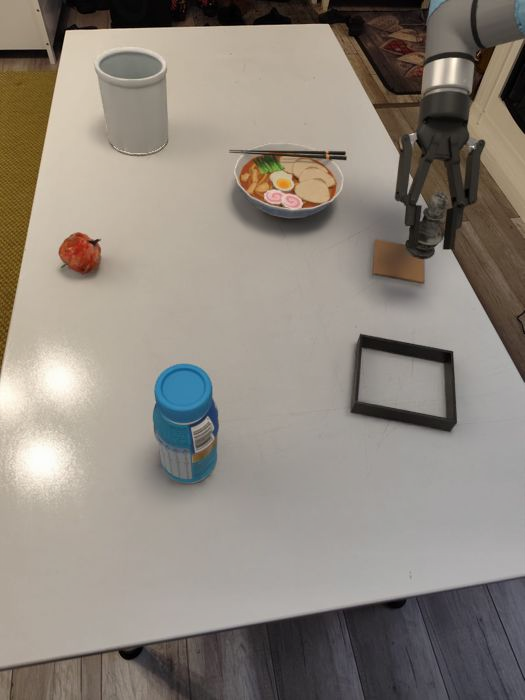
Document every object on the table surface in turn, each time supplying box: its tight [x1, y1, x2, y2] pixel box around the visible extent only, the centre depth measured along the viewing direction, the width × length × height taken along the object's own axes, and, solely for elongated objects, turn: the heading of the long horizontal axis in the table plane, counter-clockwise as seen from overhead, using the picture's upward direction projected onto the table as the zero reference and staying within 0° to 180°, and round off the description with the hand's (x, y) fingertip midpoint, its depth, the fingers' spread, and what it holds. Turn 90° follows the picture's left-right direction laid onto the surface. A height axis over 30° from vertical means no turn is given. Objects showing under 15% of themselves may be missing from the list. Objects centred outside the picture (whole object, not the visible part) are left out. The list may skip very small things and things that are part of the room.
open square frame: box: [350, 333, 458, 432], centre depth 86 cm, size 16×14×3 cm
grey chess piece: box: [403, 189, 450, 260], centre depth 85 cm, size 6×6×12 cm
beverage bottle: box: [152, 363, 220, 484], centre depth 68 cm, size 8×8×20 cm
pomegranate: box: [58, 231, 102, 275], centre depth 94 cm, size 7×7×10 cm
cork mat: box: [372, 238, 425, 284], centre depth 104 cm, size 10×10×1 cm
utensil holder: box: [93, 46, 169, 156], centre depth 115 cm, size 15×15×18 cm
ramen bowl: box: [228, 141, 348, 220], centre depth 109 cm, size 25×23×8 cm
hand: (430, 248), depth 85 cm, fingers closed on grey chess piece, 5 cm apart
